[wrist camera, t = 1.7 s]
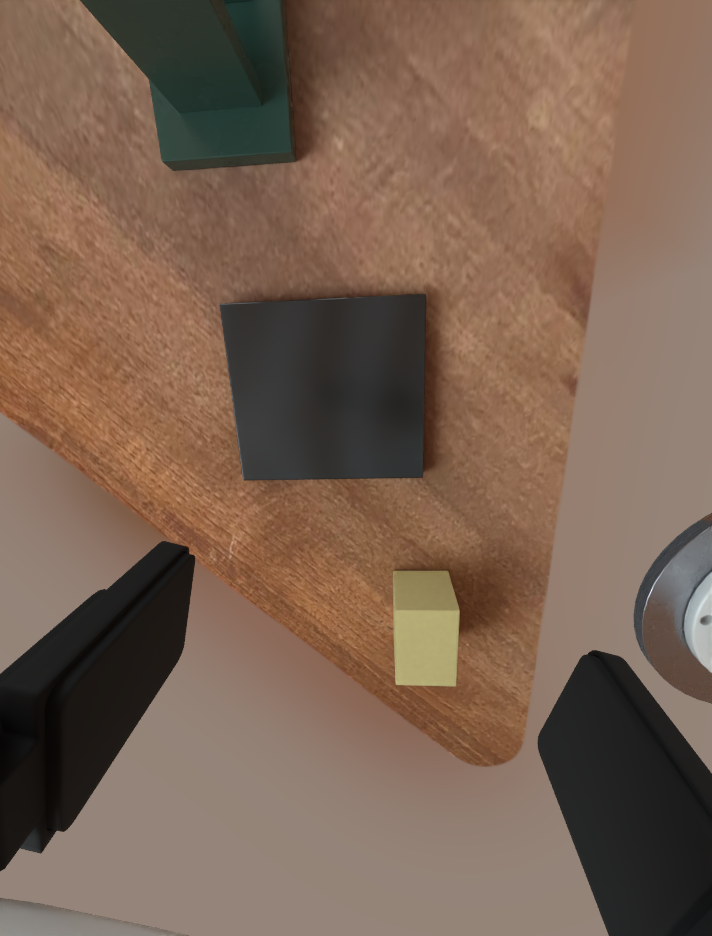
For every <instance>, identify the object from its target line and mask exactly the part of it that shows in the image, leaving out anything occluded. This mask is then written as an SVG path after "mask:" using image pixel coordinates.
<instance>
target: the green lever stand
mask: <svg viewBox="0 0 712 936" xmlns="http://www.w3.org/2000/svg"><path fill="white" fill-rule="evenodd" d="M80 1H81V2H82V3H83V4H84V6H85V7H86V8H87V9H88V10H89V11H90V12H91V14H92V15H93V16H94V17H95V18H96V19H97V20H98V22H99V23H100V24H101V25H102V26H103V27H104V28H105V30H106V31H107V32H108V33H109V34H110V35H111V36H112V37H113V39H114V40H115V41H116V42H117V43H118V44H119V45H120V47H121V48H122V49H123V50H124V51H125V52H126V53H127V55H128V56H129V57H130V58H131V59H132V60H133V61H134V63H135V64H136V65H137V66H138V67H139V68H140V69H141V71H142V72H143V73H144V74H145V75H146V76H147V77H148V79H149V83H150V89H151V95H152V102H153V108H154V114H155V120H156V127H157V133H158V139H159V146H160V152H161V158H162V162H163V163H164V164H166V165H167V166H168V167H169V168H170V169H172V170H173V171H177V170H191V169H204V168H217V167H231V166H244V165H258V164H271V163H285V162H295V161H296V149H295V135H294V121H293V107H292V92H291V78H290V64H289V50H288V36H287V22H286V8H285V0H80Z"/></svg>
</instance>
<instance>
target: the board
mask: <svg viewBox="0 0 712 936" xmlns="http://www.w3.org/2000/svg"><path fill="white" fill-rule="evenodd" d="M220 311H221V318H222V326H223V333H224V341H225V348H226V356H227V363H228V371H229V378H230V386H231V393H232V400H233V408H234V415H235V423H236V430H237V438H238V445H239V453H240V460H241V468H242V475H243V480H304V479H369V478H422V477H423V462H424V397H425V332H426V294H410V295H390V296H369V297H349V298H328V299H307V300H287V301H266V302H246V303H225V304H220Z"/></svg>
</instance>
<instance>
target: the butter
mask: <svg viewBox="0 0 712 936" xmlns="http://www.w3.org/2000/svg"><path fill="white" fill-rule="evenodd" d="M393 613H394V654H395V678H396V685H423V686H456V677H457V658H458V638H459V619H460V610H459V606H458V603H457V600H456V596H455V593H454V589H453V586H452V583H451V579H450V576H449V572H448V571H393Z"/></svg>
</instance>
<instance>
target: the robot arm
mask: <svg viewBox="0 0 712 936" xmlns="http://www.w3.org/2000/svg"><path fill="white" fill-rule="evenodd" d="M194 566H195V556H194V555H191V554H189V548H188V547H186V546H182V545H178V544H174V543H170V542H166V541H162V542H161V543H159V544H158V545H157V546H156V547H155V548H153V549H152V550H151V551H150V552H149V553H148V554H147V555H146V556H144V557H143V558H142V559H141V560H140V561H139V562H138V563H137V564H135V565H134V566H133V567H132V568H131V569H130V570H128V571H127V572H126V573H125V574H124V575H123V576H122V577H121V578H119V579H118V580H117V581H116V582H115V583H114V584H113V585H112V586H110V587H109V588H108V589H107V590H105V589H103V590H100V591H98V592H96V593H95V594H93V595H92V596H91V597H90V598H88V599H87V600H86V601H85V602H84V603H83V604H82V605H80V606H79V607H78V608H77V609H75V610H74V611H73V612H72V613H71V614H70V615H68V616H67V617H66V618H65V619H64V620H63V621H62V622H60V623H59V624H58V625H57V626H56V627H55V628H53V629H52V630H51V631H50V632H49V633H48V634H46V635H45V636H44V637H43V638H42V639H40V640H39V641H38V642H37V643H36V644H35V645H34V646H32V647H31V648H30V649H29V650H28V651H27V652H25V653H24V654H23V655H22V656H21V657H20V658H18V659H17V660H16V661H15V662H14V663H13V664H12V665H10V666H9V667H8V668H7V669H6V670H4V671H3V672H2V673H1V674H0V871H1V870H3V869H5V868H6V866H7V865H8V863H9V862H10V861H11V859H12V858H13V857H14V855H15V854H16V853H17V851H18V850H19V848H21V849H25V850H29V851H33V852H37V853H42V851H43V850H44V848H45V847H46V846H47V844H48V843H49V841H50V840H51V838H52V837H53V835H54V834H55V832H56V831H57V830H58V831H62V832H64V831H66V830H67V829H68V828H69V827H70V826H71V825H72V823H73V822H74V820H75V819H76V817H77V816H78V814H79V813H80V811H81V810H82V808H83V807H84V805H85V804H86V802H87V800H88V799H89V797H90V796H91V794H92V793H93V791H94V790H95V788H96V787H97V785H98V784H99V782H100V781H101V779H102V777H103V776H104V774H105V773H106V771H107V770H108V768H109V767H110V765H111V764H112V762H113V761H114V759H115V757H116V756H117V754H118V753H119V751H120V750H121V748H122V747H123V745H124V744H125V742H126V741H127V739H128V737H129V736H130V734H131V733H132V731H133V730H134V728H135V727H136V725H137V724H138V722H139V720H140V719H141V717H142V716H143V714H144V713H145V711H146V710H147V708H148V706H149V705H150V704H151V702H152V701H153V699H154V697H155V696H156V694H157V693H158V691H159V690H160V688H161V687H162V685H163V684H164V682H165V680H166V679H167V677H168V676H169V674H170V673H171V671H172V670H173V668H174V667H175V665H176V663H177V662H178V660H179V658H180V656H181V654H182V651H183V648H184V642H185V635H186V627H187V618H188V612H189V604H190V596H191V589H192V581H193V573H194ZM684 632H685V638H686V642H687V644H688V646H689V648H690V650H691V652H692V654H693V655H694V656H695V657H696V658H697V659H698V661H699V662H700V663H701V664H702V665H703V666H705V667H706V668H707V669H708V670H709V671H710V672H711V673H712V572H711V573H710V574H709V575H708V576H707V577H706V578H705V579H704V580H703V582H702V583H701V584H700V585H699V586H698V588H697V589H696V591H695V593H694V594H693V596H692V598H691V600H690V602H689V604H688V607H687V611H686V614H685V621H684ZM538 750H539V753H540V756H541V759H542V761H543V764H544V766H545V769H546V772H547V774H548V777H549V780H550V782H551V784H552V788H553V790H554V793H555V795H556V798H557V801H558V803H559V806H560V808H561V811H562V814H563V816H564V819H565V821H566V824H567V827H568V829H569V832H570V835H571V837H572V840H573V843H574V845H575V848H576V850H577V853H578V856H579V858H580V861H581V864H582V866H583V869H584V871H585V874H586V877H587V879H588V882H589V885H590V887H591V890H592V892H593V895H594V898H595V900H596V903H597V905H598V908H599V911H600V913H601V916H602V919H603V921H604V924H605V926H606V929H607V932H608V934H609V936H712V773H711V772H710V771H709V770H708V768H707V767H706V766H705V764H704V763H703V762H702V760H701V759H700V758H699V756H698V755H697V754H696V752H695V751H694V750H693V748H692V747H691V746H690V745H689V743H688V742H687V741H686V739H685V738H684V737H683V735H682V734H681V733H680V732H679V730H678V729H677V728H676V726H675V725H674V724H673V722H672V721H671V720H670V718H669V717H668V716H667V715H666V713H665V712H664V711H663V709H662V708H661V707H660V705H659V704H658V703H657V702H656V700H655V699H654V698H653V696H652V695H651V694H650V693H649V691H648V690H647V688H646V687H645V686H644V685H643V683H642V682H641V681H640V679H639V678H638V677H637V675H636V674H635V673H634V671H633V670H632V669H631V668H630V666H629V665H628V664H627V662H626V661H625V660H624V659H623V658H621V657H619V656H616V655H612V654H608V653H605V652H600V651H597V650H593V651H591V652H589V653H588V654H587V655H583V656H582V657H581V658H580V660H579V662H578V664H577V665H576V667H575V669H574V671H573V673H572V675H571V676H570V678H569V680H568V682H567V684H566V686H565V688H564V689H563V691H562V693H561V695H560V697H559V698H558V700H557V702H556V704H555V706H554V708H553V710H552V712H551V713H550V715H549V717H548V719H547V720H546V722H545V724H544V726H543V728H542V730H541V731H540V734H539V736H538ZM0 936H188V935H184V934H180V933H176V932H171V931H167V930H163V929H159V928H153V927H149V926H144V925H139V924H135V923H130V922H125V921H120V920H116V919H111V918H106V917H102V916H96V915H92V914H87V913H82V912H78V911H73V910H68V909H63V908H58V907H54V906H49V905H44V904H39V903H32V902H25V901H18V900H11V899H4V898H0Z"/></svg>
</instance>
